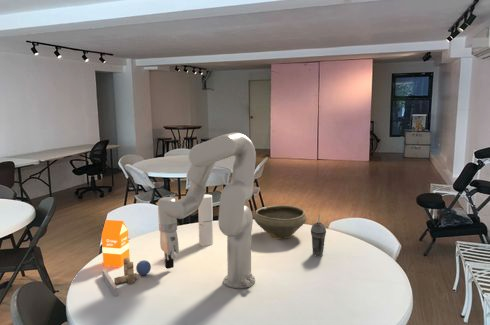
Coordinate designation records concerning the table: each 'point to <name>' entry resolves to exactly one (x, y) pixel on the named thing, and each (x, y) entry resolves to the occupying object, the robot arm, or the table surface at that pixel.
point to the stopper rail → (110, 282)
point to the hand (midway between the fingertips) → (169, 267)
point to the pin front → (123, 279)
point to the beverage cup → (318, 238)
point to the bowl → (280, 220)
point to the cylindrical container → (206, 221)
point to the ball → (143, 267)
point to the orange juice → (115, 243)
